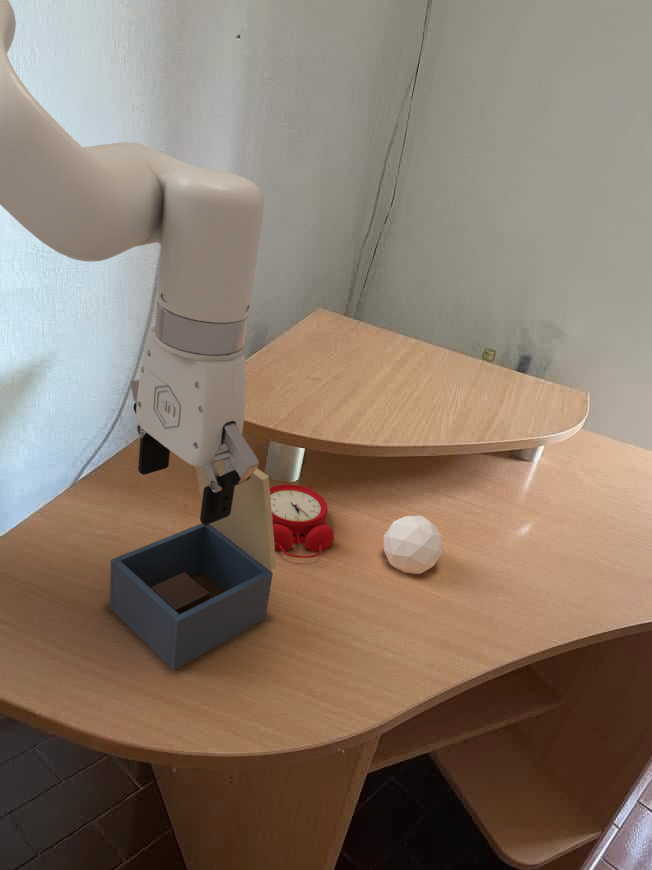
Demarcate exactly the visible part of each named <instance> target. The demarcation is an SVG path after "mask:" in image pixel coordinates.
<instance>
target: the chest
mask: <svg viewBox="0 0 652 870" xmlns="http://www.w3.org/2000/svg"><path fill="white" fill-rule="evenodd" d="M183 572H185V573H186V574H188V575H189V576H190V577H192V576H193V575H195V574H198V573H200V572H201V573H203V574H204V575H205V576H206V577H207V578H208V579H210V580H211V581H212V582H213V583H214V584H215V585H217V586H218V587H219V588H220V589H222V590H223V592H222V593H220V594H218V595H215V596H213V597H211V598H209V600H208V601H206V602H204V603H202V604H200V605H198V606H196V607H194V608H192V609H190V610H188V611H186V612H184V613H182V614H180V615H179V614H178V613H177V612H176V611H175V610H174V609H173V608H172V607H171V606H169V605H168V604H167V603H166V602H165V601H164V600H163V599H162V598H161V597H160V596H158V595H157V594H156V593H155V592H154V591H153V590H152V589H151V587H152V586H155V585H157V584H159V583H161V582H163V581H166V580H168V579H170V578H172V577H175V576H177V575H179V574H181V573H183ZM109 574H110V578H109V579H110V580H109V581H110V582H109V589H110V590H109V609H110V610H111V612H113V613H114V614H115V615H116V616H117V617H118V618H119V619H120V620H122V622H123V623H125V625H126V626H128V628H129V629H131V631H133V632H134V634H135V635H137V637H139V638H140V639H141V641H142V642H144V643H145V644H146V645H147V646H148V647H149V648H150V649H151V650H152V651H153V652H154V653H155V654H156V655H157V656H158V657H159V658H160V659H161V660H162V661H164V663H165V664H167V666H169V667H170V669H171V670H172V671H176V670H178V669H180V668H181V667H183V666H185V665H186V664H188V663H190V662H191V661H193V660H196V659H197V658H199V657H200V656H202V655H204V654H206V653H208V652H209V651H212V650H213V649H215V648H216V647H218V646H220V645H222V644H223V643H225V642H228V641H229V640H230V639H232V638H234V637H235V636H237V635H239V634H241V633H243V632H244V631H247V630H248V629H250V628H252V627H253V626H255V625H257V624H258V623H260V622H262V621H263V620H265V619H266V618H267V617H266V616H267V611H268V605H269V599H270V593H271V587H272V582H273V581H272V580H273V575H274V573H273V571H270V570H269V569H268V568H266V567H265V566H264V565H262V564H261V563H260V562H259V561H257V560H256V559H255V558H253V557H252V556H251V555H250V554H248V553H247V552H246V551H244V550H243V549H242V548H241V547H239V546H238V545H237V544H235V543H234V542H233V541H231V540H230V539H229V538H228V537H226V536H225V535H224V534H222V533H221V532H220V531H219V530H217V529H216V528H215V527H213V526H212V525H211V524H208V525H204V524H203V523H202V522H200V523H198V524H196V525H193V526H191V527H189V528H186V529H183V530H181V531H179V532H176V533H174V534H171V535H169V536H167V537H163V538H162V539H159V540H156V541H154V542H151V543H149V544H145V545H143V546H141V547H139V548H137V549H134V550H131V551H129V552H126V553H123V554H121V555H118V556H117V557H114V558H111V559H110V573H109Z"/></svg>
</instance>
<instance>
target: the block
mask: <svg viewBox="0 0 652 870" xmlns="http://www.w3.org/2000/svg"><path fill="white" fill-rule="evenodd" d="M151 589H152V590H153V591H154V592H155V593H156V594H157V595H158V596H160V597H161V598H162V599H163V600H164V601H165V602H166V603H167V604H168V605H169V606H171V607H172V608H173V609H174V610H175V611H176V612H177V613H178V614H179V615H180V614H182V613H184V612H186V611H188V610H190V609H192V608H194V607H196V606H198V605H200V604H202V603H204V602H206V601H208V600H210V592H209V591H208V590H206V589H205V587H203V586H202V585H201V584H199V582H197V581H196V580H195V579H194V578H192V576H189V575H188V574H186V573H185V572H183V573H181V574H179V575H177V576H175V577H172V578H170V579H168V580H166V581H163V582H161V583H159V584H157V585H155V586H152V587H151Z"/></svg>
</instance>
